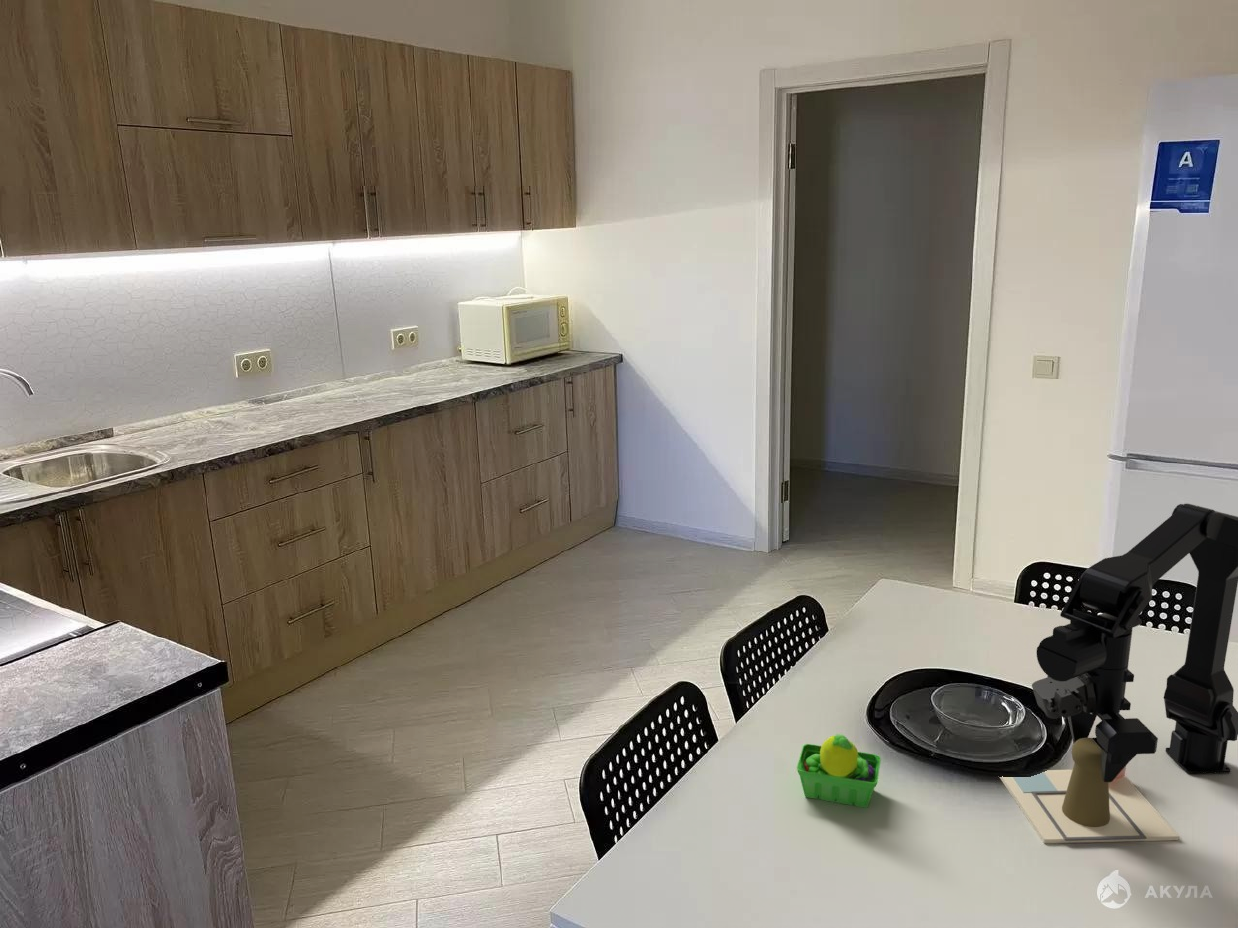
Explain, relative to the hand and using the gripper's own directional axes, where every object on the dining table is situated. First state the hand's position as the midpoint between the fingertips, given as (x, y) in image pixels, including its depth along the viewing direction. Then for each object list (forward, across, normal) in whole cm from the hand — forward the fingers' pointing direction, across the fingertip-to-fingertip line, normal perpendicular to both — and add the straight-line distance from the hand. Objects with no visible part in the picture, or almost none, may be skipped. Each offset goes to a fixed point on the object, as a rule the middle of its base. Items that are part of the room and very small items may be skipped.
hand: (1092, 763), depth 130 cm
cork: (+8, 0, 0) cm, 8 cm away
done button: (+7, -9, +7) cm, 13 cm away
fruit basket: (+9, -7, -33) cm, 35 cm away
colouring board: (+9, -3, +1) cm, 9 cm away
